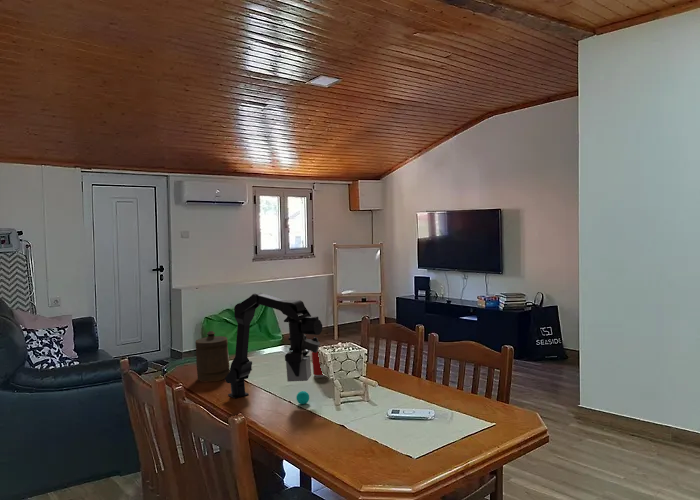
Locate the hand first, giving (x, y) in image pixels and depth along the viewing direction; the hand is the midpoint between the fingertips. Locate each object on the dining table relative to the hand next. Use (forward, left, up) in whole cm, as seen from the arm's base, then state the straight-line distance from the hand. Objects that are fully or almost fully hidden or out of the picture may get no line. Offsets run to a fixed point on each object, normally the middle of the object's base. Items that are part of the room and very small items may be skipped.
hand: (299, 373), depth 228 cm
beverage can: (-28, +28, -12) cm, 41 cm away
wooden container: (-65, -7, -12) cm, 67 cm away
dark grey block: (0, 0, -2) cm, 2 cm away
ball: (0, 0, -10) cm, 10 cm away
